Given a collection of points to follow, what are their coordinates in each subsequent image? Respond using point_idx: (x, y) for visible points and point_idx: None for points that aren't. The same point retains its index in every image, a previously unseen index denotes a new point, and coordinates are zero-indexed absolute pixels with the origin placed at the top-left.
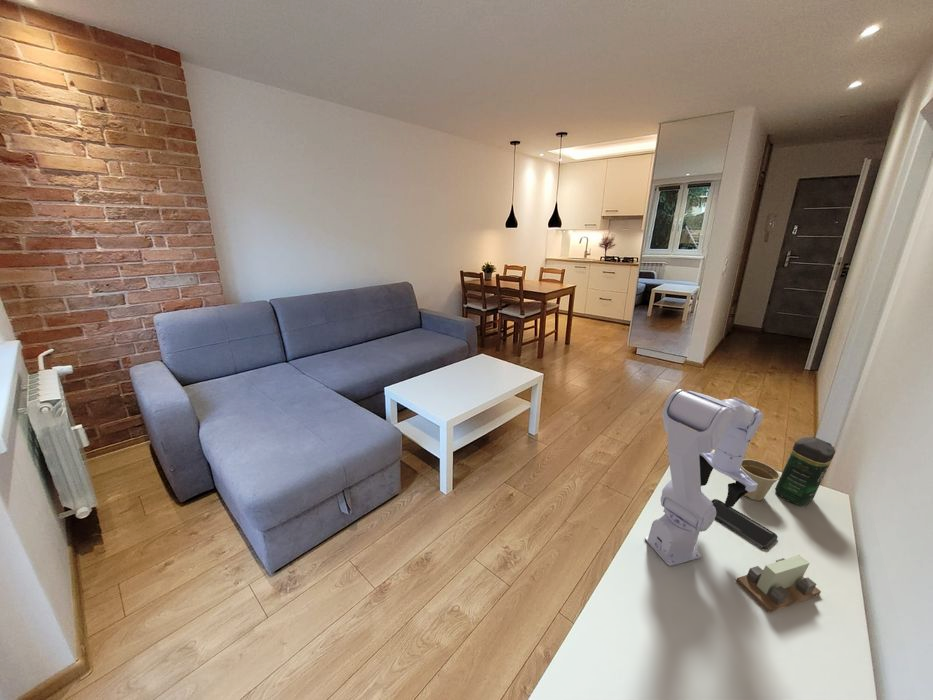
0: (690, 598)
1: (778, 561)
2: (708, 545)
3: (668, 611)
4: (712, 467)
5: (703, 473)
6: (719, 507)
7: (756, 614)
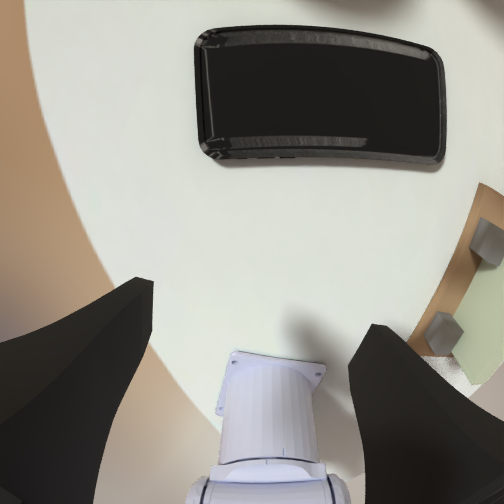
0: (346, 428)
1: (500, 346)
2: (320, 311)
3: (330, 452)
4: (52, 414)
5: (104, 421)
6: (239, 72)
7: (436, 370)
